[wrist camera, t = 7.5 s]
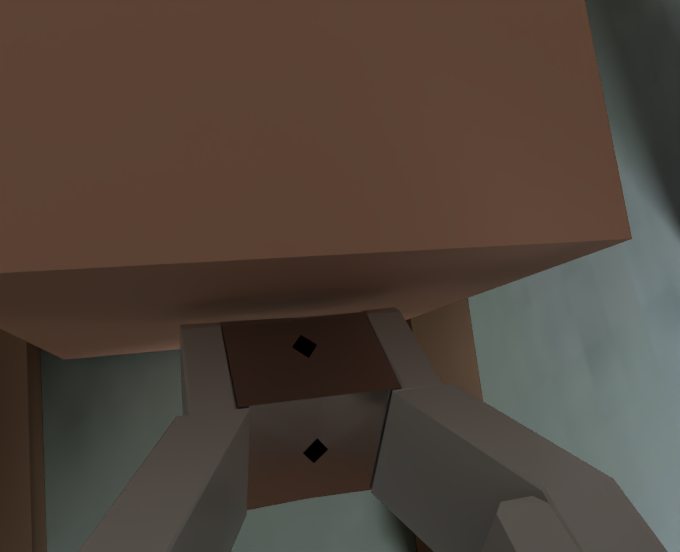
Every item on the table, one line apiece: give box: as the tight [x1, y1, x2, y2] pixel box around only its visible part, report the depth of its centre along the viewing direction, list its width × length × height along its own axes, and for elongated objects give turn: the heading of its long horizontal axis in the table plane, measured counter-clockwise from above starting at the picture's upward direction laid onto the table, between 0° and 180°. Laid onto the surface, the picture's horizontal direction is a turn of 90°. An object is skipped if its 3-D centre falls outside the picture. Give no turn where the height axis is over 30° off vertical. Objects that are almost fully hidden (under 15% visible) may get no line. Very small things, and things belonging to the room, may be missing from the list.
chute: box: [0, 298, 483, 552], centre depth 15 cm, size 11×23×2 cm, turn 6°
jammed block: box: [0, 0, 632, 360], centre depth 11 cm, size 7×8×9 cm
